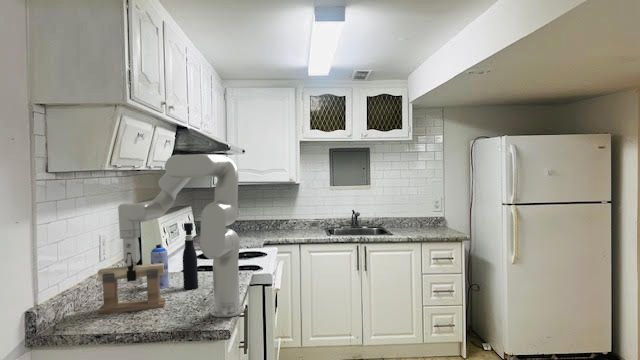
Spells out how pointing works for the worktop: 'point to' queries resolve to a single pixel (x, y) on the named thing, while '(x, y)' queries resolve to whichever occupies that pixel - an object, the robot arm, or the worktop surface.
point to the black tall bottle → (189, 260)
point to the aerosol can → (161, 257)
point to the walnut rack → (113, 306)
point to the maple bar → (140, 269)
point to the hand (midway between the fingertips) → (132, 278)
